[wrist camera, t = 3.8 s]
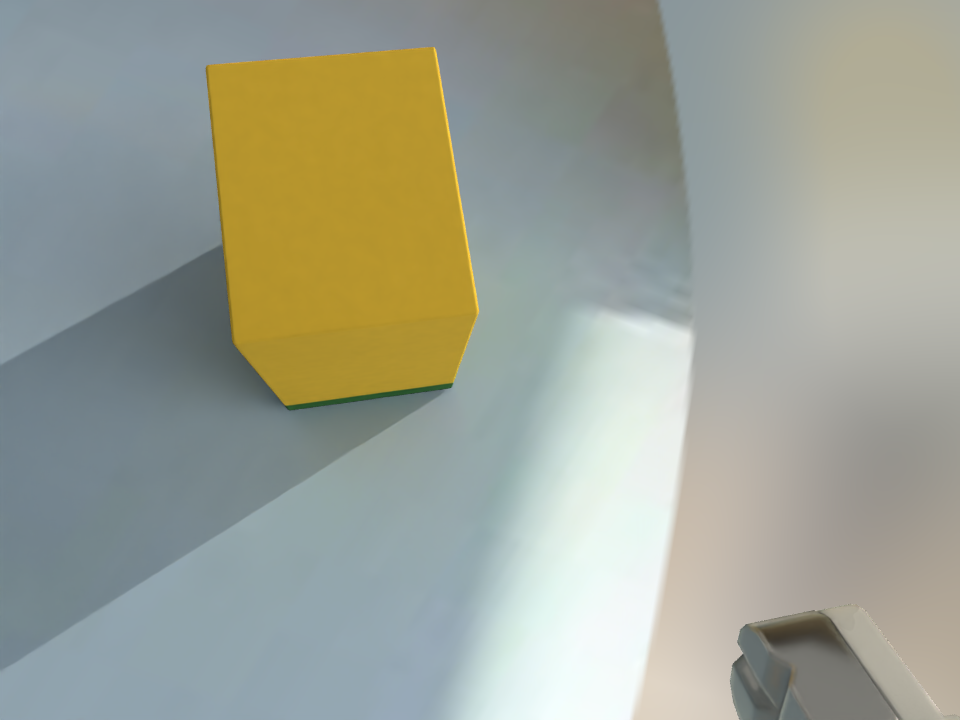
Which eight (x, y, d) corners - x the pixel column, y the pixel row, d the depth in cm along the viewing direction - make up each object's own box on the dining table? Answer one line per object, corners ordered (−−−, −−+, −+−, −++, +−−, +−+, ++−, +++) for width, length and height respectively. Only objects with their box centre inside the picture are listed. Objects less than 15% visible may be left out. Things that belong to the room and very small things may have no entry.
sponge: (452, 388, 23) (479, 313, 16) (288, 410, 23) (231, 344, 15) (423, 201, 25) (435, 45, 17) (266, 217, 24) (204, 63, 16)
